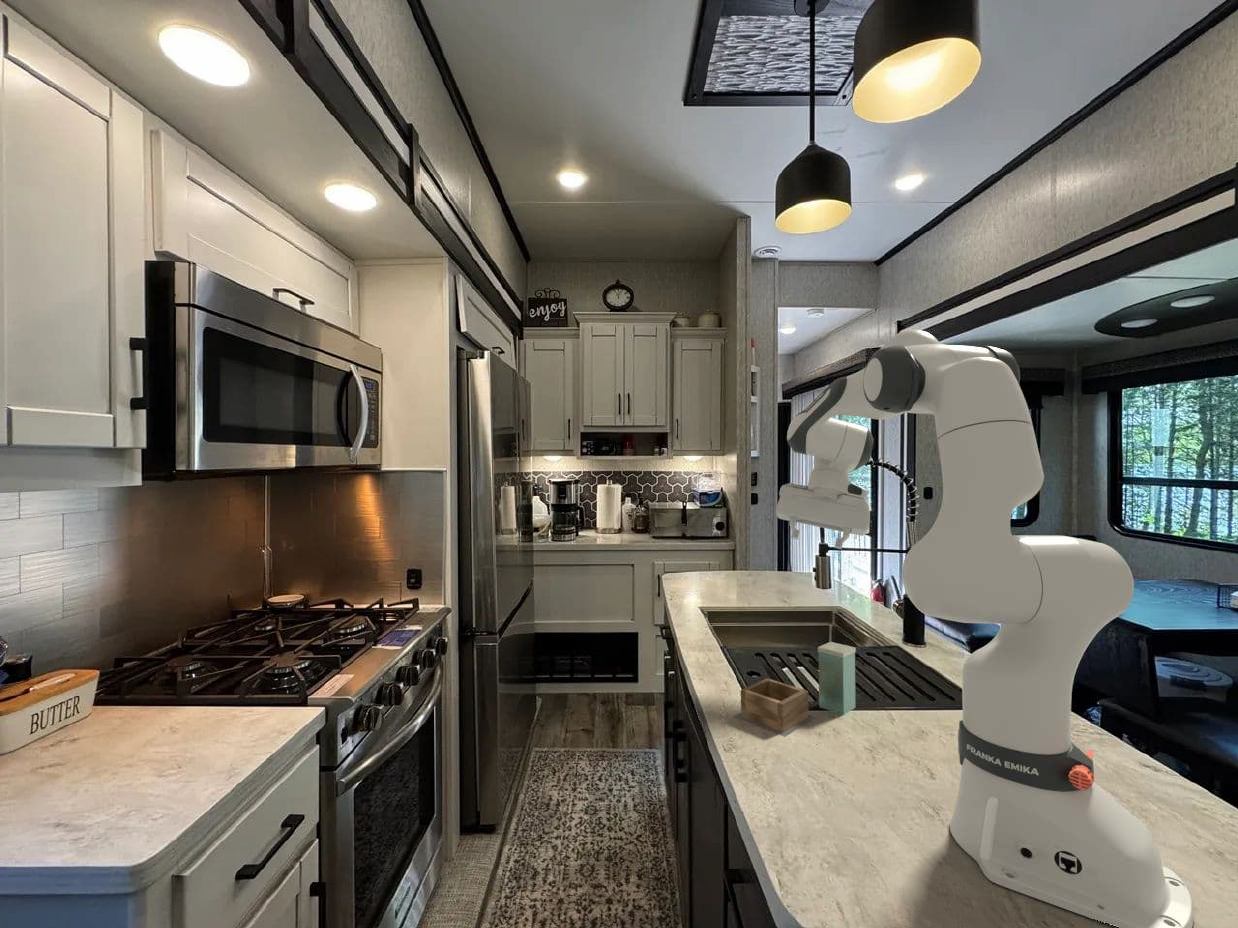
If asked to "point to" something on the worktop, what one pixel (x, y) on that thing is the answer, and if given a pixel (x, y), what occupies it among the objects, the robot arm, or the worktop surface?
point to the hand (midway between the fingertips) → (816, 542)
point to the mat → (776, 730)
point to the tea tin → (837, 677)
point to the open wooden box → (774, 704)
